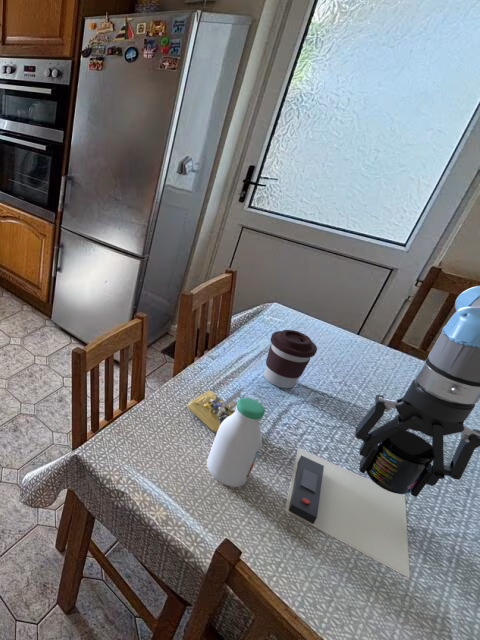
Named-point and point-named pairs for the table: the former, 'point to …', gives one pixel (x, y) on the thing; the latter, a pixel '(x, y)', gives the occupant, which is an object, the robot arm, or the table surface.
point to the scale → (360, 514)
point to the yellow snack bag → (213, 408)
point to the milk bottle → (237, 444)
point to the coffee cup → (288, 357)
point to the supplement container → (400, 462)
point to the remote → (306, 489)
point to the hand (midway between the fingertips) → (386, 478)
